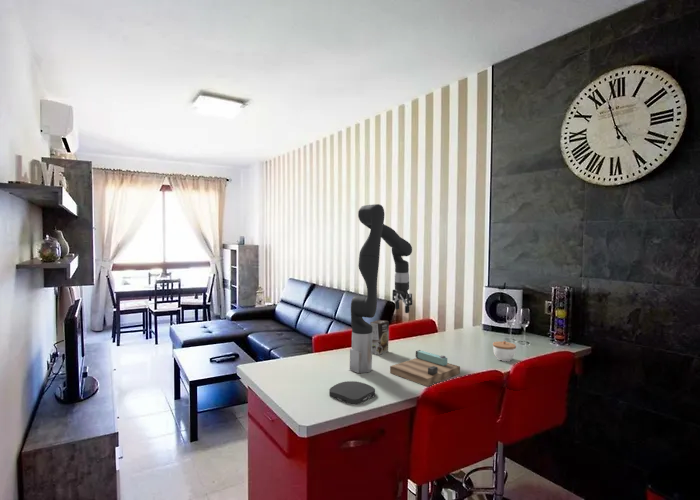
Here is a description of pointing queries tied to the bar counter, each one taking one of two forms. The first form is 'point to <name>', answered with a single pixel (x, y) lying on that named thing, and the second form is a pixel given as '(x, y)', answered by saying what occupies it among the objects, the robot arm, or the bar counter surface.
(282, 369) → the bar counter surface
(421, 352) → the folding leg
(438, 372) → the wooden board
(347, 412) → the bar counter surface
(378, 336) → the coffee box
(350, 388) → the media streaming box
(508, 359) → the lidded jar
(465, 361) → the bar counter surface
